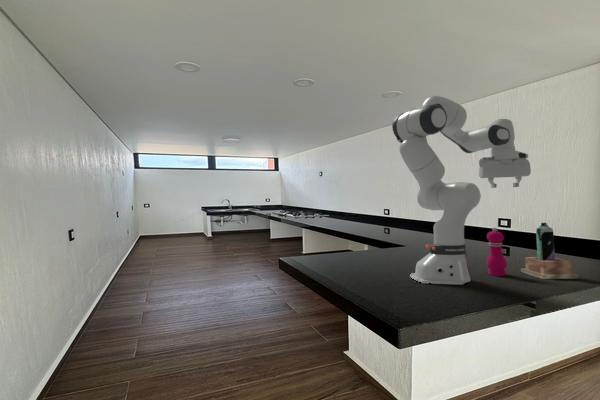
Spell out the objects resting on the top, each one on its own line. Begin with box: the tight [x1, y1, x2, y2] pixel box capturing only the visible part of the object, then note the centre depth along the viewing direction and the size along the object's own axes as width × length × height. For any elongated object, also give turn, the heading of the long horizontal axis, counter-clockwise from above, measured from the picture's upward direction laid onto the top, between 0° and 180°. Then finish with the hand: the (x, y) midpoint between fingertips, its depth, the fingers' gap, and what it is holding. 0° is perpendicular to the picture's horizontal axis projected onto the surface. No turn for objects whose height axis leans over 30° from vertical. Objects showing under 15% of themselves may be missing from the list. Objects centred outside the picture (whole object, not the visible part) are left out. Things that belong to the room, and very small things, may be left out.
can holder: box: [520, 256, 580, 280], centre depth 121 cm, size 13×13×6 cm
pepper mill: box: [486, 226, 508, 277], centre depth 125 cm, size 7×7×20 cm
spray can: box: [535, 222, 556, 261], centre depth 122 cm, size 6×6×20 cm
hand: (505, 187), depth 130 cm, fingers open, 8 cm apart
